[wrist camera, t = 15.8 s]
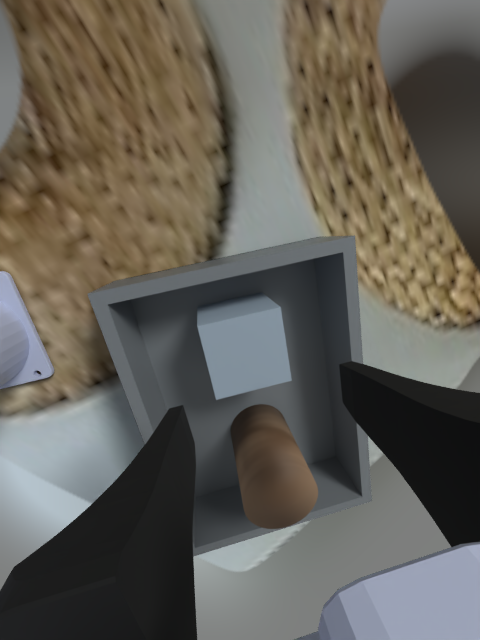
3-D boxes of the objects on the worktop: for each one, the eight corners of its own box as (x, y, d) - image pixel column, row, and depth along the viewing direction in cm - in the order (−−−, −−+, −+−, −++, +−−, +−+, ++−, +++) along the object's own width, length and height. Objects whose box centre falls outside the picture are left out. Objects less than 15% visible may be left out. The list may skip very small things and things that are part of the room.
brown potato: (235, 457, 25) (249, 537, 18) (226, 411, 23) (237, 480, 17) (288, 444, 25) (320, 517, 18) (282, 398, 24) (315, 460, 17)
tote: (189, 500, 26) (187, 557, 21) (114, 281, 19) (87, 293, 15) (341, 455, 27) (371, 501, 23) (318, 236, 21) (354, 235, 16)
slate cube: (212, 365, 22) (216, 399, 17) (197, 306, 20) (197, 326, 15) (271, 350, 22) (291, 380, 17) (261, 292, 21) (280, 307, 16)
